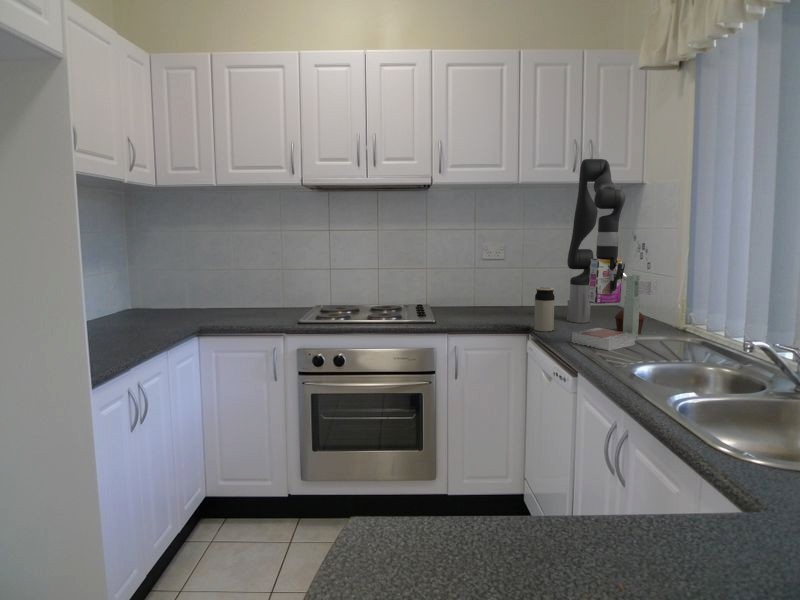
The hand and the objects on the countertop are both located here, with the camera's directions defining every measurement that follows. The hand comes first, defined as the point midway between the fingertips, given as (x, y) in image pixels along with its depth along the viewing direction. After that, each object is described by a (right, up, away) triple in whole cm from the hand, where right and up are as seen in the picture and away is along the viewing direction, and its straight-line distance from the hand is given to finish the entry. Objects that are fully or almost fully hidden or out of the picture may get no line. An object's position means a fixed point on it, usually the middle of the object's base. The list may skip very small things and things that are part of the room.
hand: (605, 289), depth 207 cm
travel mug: (-15, -17, +30) cm, 37 cm away
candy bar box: (0, -5, +1) cm, 5 cm away
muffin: (+18, -18, +22) cm, 34 cm away
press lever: (+11, 0, +12) cm, 16 cm away
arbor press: (+4, -20, +6) cm, 21 cm away
